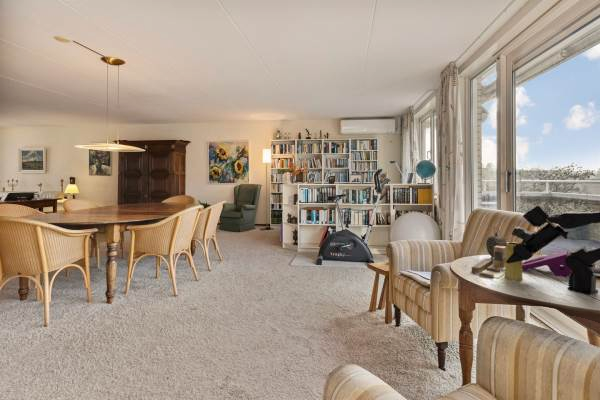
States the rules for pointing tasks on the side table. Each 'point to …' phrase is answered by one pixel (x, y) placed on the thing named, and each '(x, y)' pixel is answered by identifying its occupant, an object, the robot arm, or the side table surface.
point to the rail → (492, 264)
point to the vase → (512, 264)
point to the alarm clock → (494, 243)
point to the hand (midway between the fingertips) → (509, 260)
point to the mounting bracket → (550, 263)
